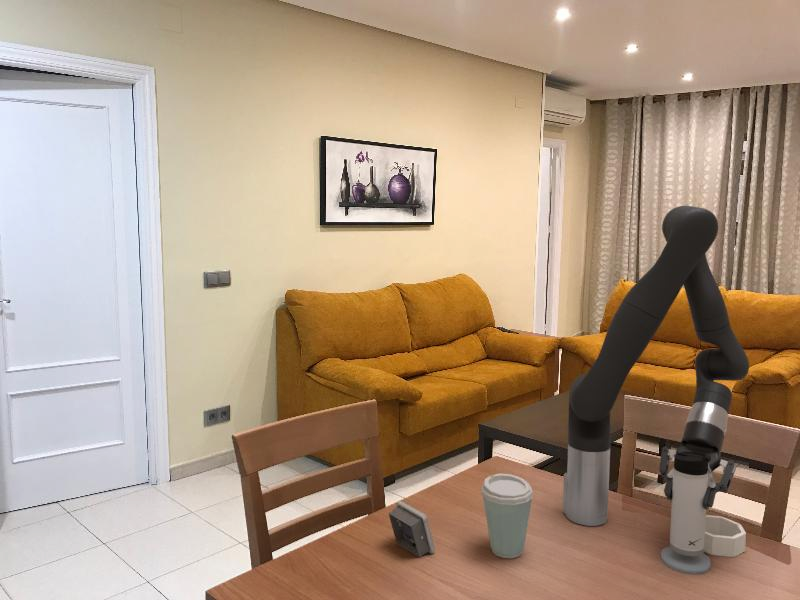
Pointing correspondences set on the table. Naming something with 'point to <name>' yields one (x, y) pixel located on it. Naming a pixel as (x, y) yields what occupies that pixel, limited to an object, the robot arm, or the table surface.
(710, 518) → the collar
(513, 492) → the disposable coffee cup
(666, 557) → the coaster
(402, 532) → the electrical switch
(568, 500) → the robot arm
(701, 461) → the travel mug
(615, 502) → the table surface
